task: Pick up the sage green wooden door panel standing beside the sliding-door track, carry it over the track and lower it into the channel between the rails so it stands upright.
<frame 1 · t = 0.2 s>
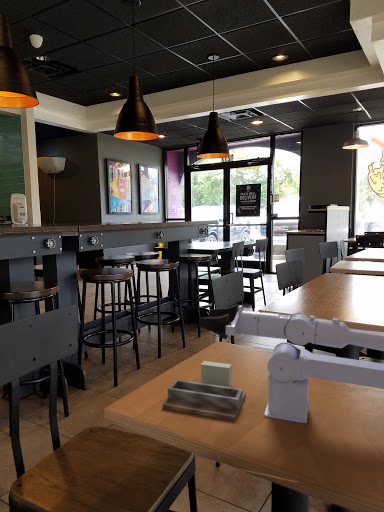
hand: (205, 317, 93), 21 cm above the table, tool horizontal, fingers open, 7 cm apart
panel: (216, 385, 102), on the table
track: (205, 402, 93), on the table
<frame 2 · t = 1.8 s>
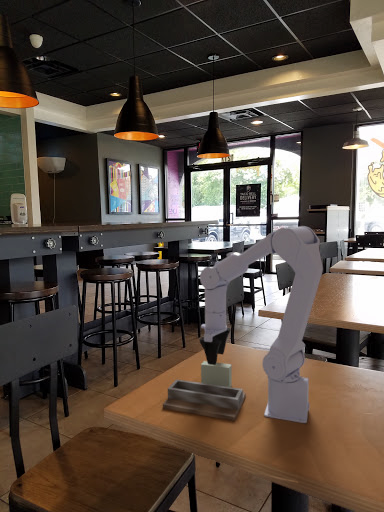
hand: (215, 358, 102), 7 cm above the table, tool pointing down, fingers open, 7 cm apart
nothing on the table moved.
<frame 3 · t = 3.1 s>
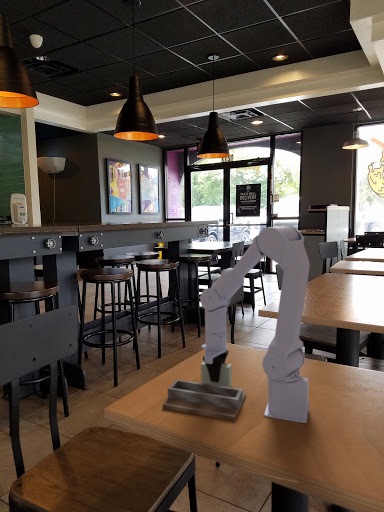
hand: (216, 378, 102), 2 cm above the table, tool pointing down, fingers closed on panel, 2 cm apart
panel: (216, 384, 102), on the table, touching gripper
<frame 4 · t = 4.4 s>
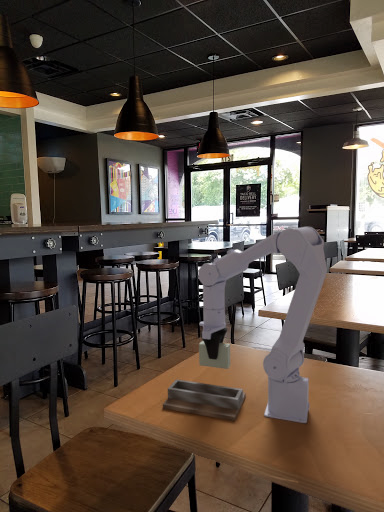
hand: (214, 356, 100), 9 cm above the table, tool pointing down, fingers closed on panel, 2 cm apart
panel: (214, 365, 100), point 6 cm above the table, touching gripper
when the fingers open (5 cm above the table, at t = 6.1 s): panel stays where it is, resting on track.
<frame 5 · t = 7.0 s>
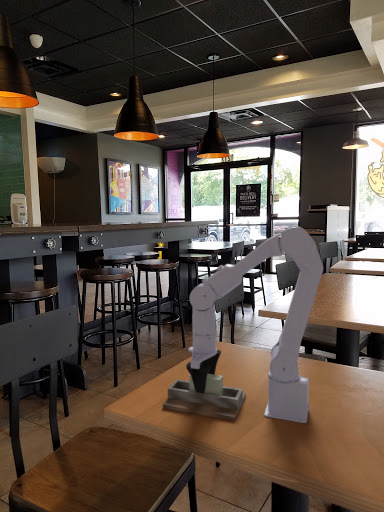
hand: (205, 385, 93), 5 cm above the table, tool pointing down, fingers open, 7 cm apart
panel: (206, 398, 93), point 1 cm above the table, touching track
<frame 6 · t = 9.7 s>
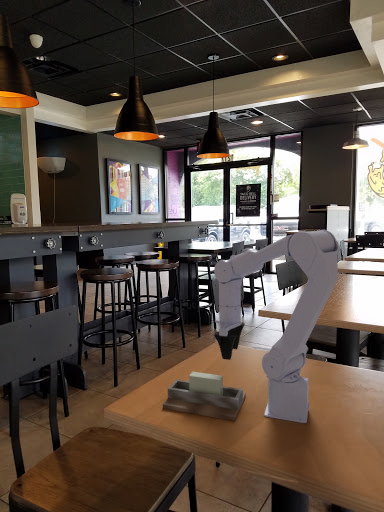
hand: (230, 353, 100), 9 cm above the table, tool pointing down, fingers open, 7 cm apart
nothing on the table moved.
at the end: panel inside the target area on the track (0.3 cm from its centre), point 1.0 cm above the track's base; panel tilted 0°; the gripper is holding nothing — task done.
